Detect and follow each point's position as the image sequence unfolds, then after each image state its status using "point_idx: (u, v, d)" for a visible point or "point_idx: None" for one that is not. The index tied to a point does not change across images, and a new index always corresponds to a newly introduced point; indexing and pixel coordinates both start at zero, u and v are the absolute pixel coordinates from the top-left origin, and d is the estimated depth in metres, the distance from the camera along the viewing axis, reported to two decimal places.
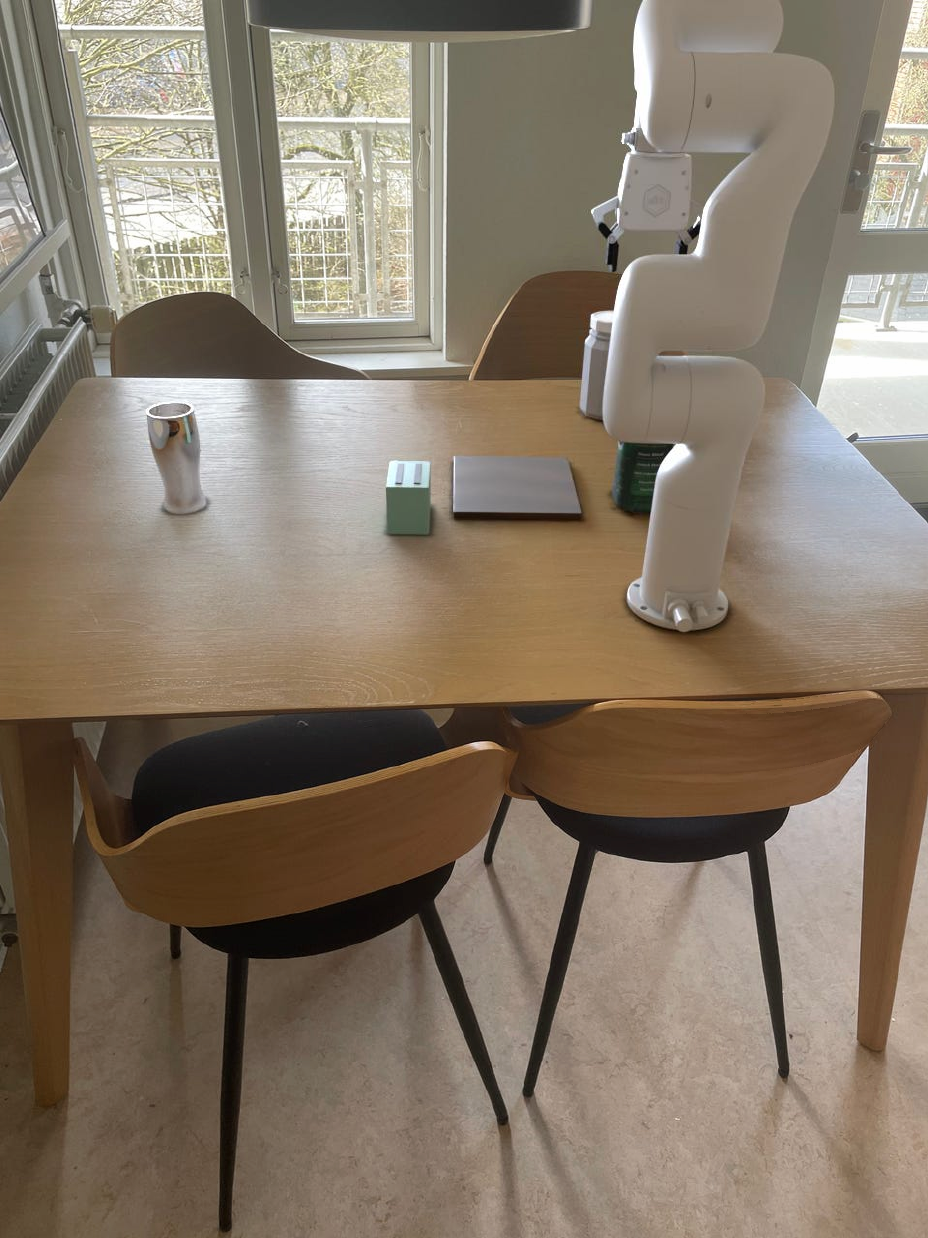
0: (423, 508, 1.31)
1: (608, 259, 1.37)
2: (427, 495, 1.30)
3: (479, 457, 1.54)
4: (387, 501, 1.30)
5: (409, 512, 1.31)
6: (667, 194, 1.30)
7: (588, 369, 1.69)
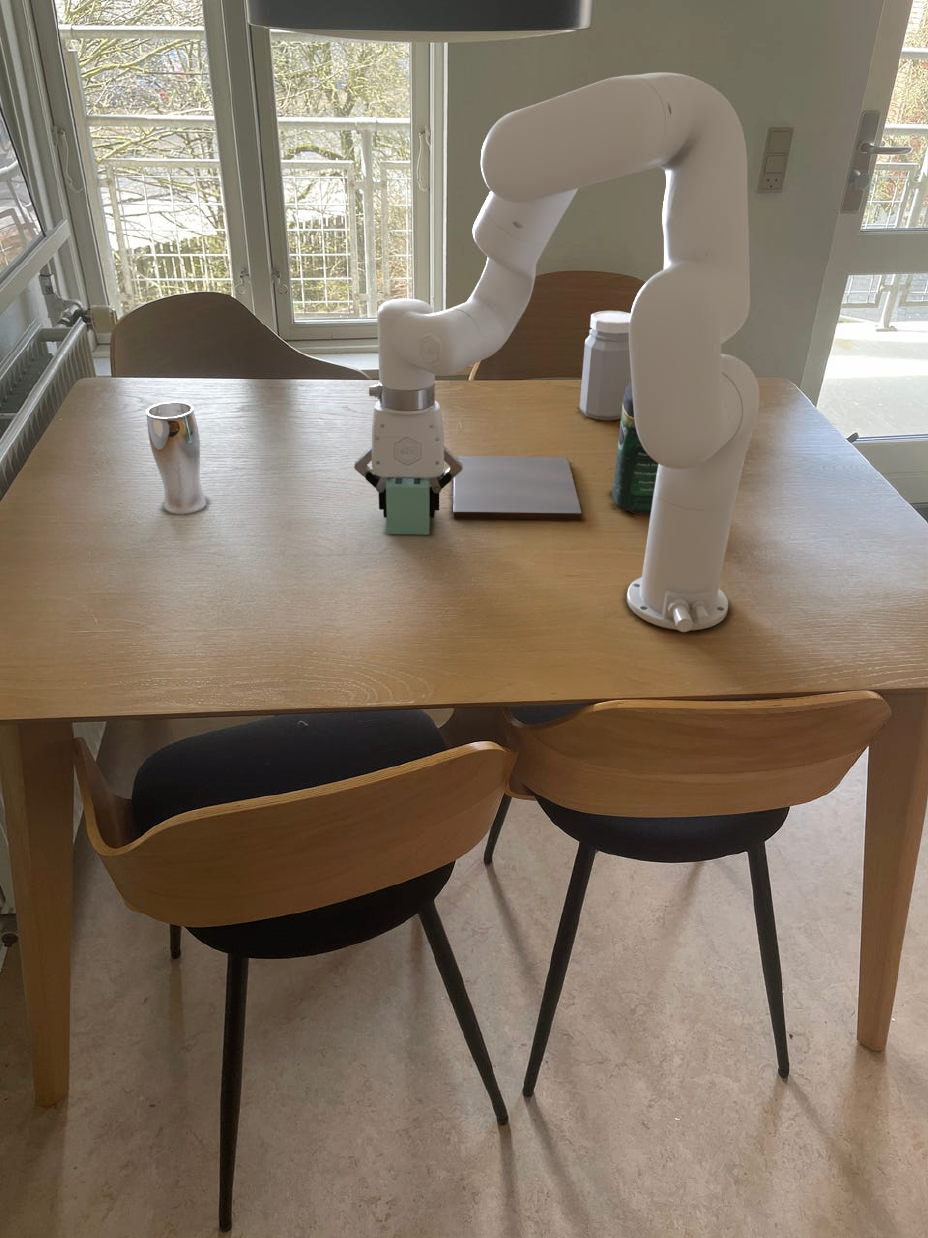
0: (423, 508, 1.31)
1: (379, 505, 1.35)
2: (427, 495, 1.30)
3: (479, 457, 1.54)
4: (387, 501, 1.30)
5: (409, 511, 1.31)
6: (417, 445, 1.27)
7: (588, 369, 1.69)
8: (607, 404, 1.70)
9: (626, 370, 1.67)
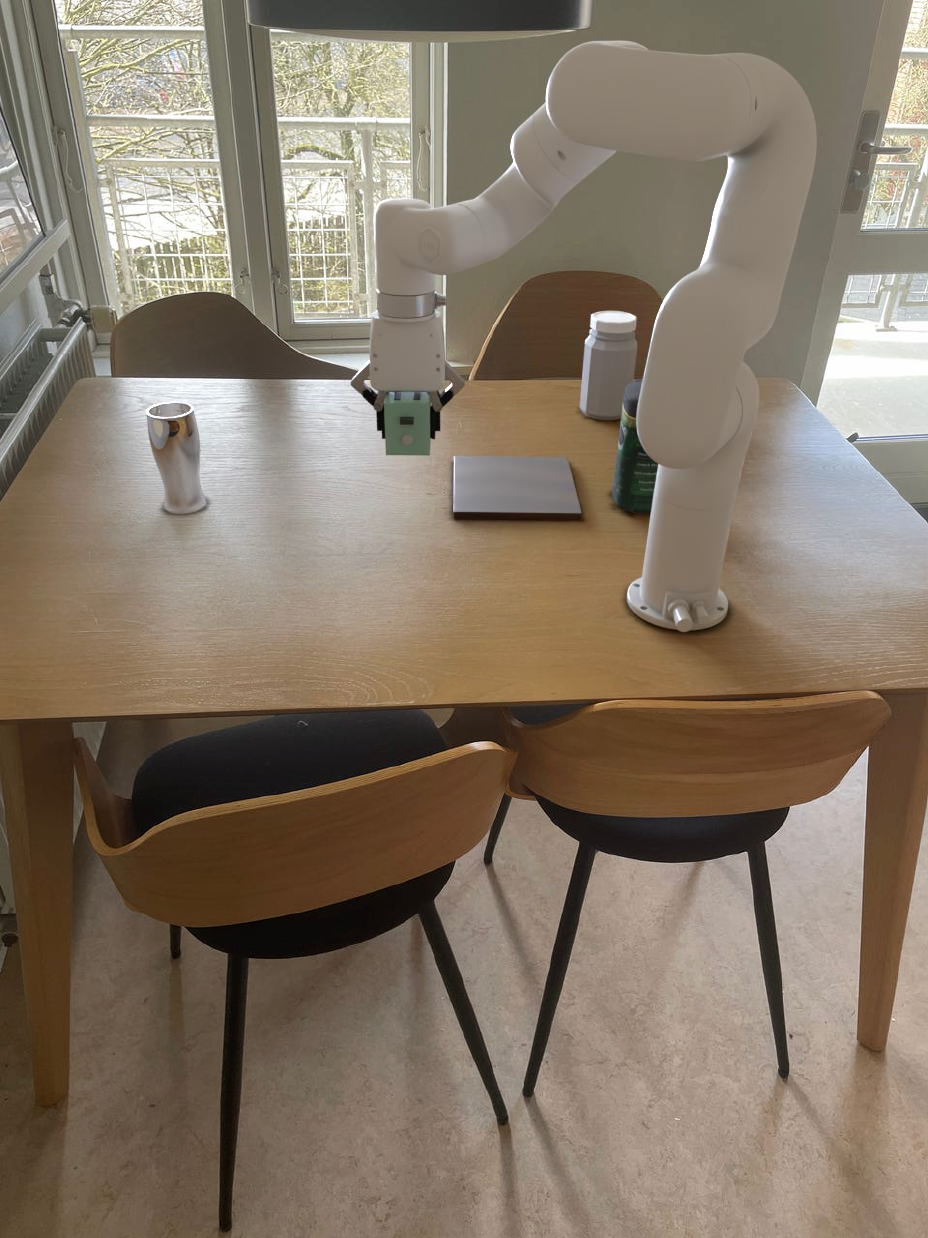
0: None
1: None
2: None
3: (479, 457, 1.54)
4: None
5: None
6: None
7: (588, 369, 1.69)
8: (607, 404, 1.70)
9: (626, 370, 1.67)
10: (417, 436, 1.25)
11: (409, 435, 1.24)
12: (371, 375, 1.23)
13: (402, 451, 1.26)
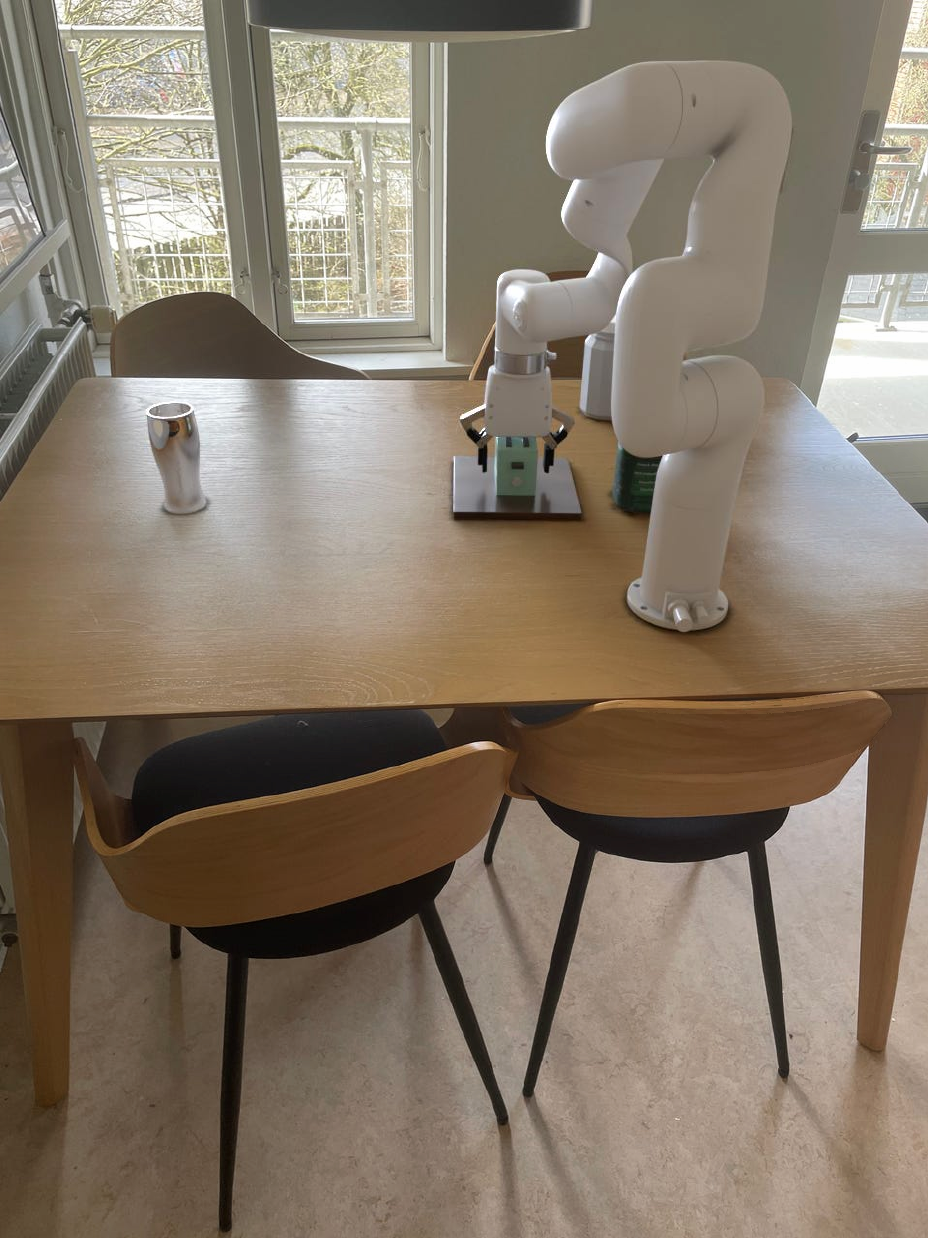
0: None
1: None
2: None
3: None
4: None
5: None
6: None
7: (588, 369, 1.69)
8: (607, 404, 1.70)
9: None
10: (525, 478, 1.40)
11: (518, 478, 1.40)
12: (486, 423, 1.38)
13: (511, 491, 1.41)
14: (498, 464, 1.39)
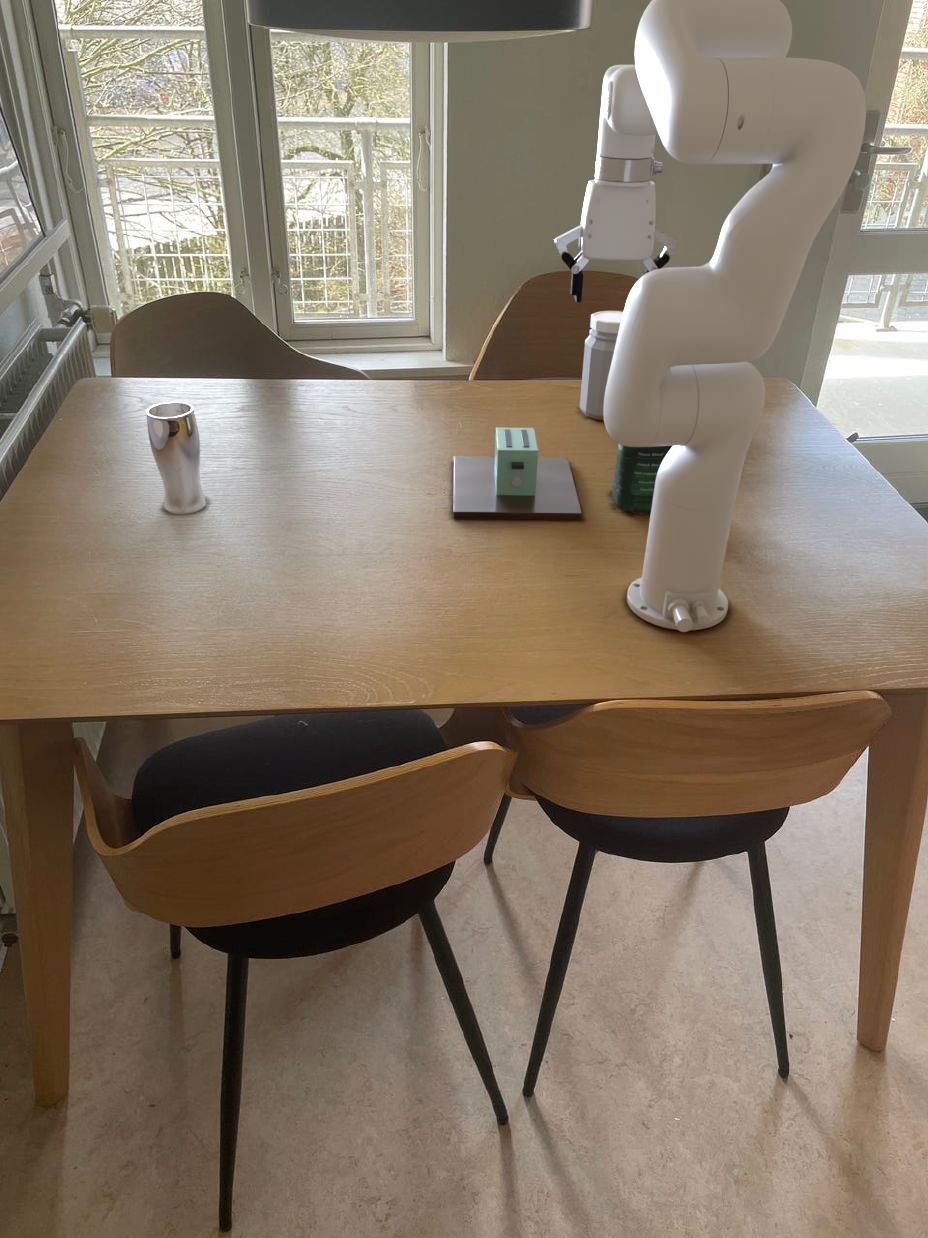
0: None
1: None
2: None
3: (479, 457, 1.54)
4: None
5: None
6: None
7: (588, 369, 1.69)
8: None
9: None
10: (525, 478, 1.40)
11: (518, 478, 1.40)
12: (584, 242, 1.28)
13: (511, 491, 1.41)
14: (498, 464, 1.39)
